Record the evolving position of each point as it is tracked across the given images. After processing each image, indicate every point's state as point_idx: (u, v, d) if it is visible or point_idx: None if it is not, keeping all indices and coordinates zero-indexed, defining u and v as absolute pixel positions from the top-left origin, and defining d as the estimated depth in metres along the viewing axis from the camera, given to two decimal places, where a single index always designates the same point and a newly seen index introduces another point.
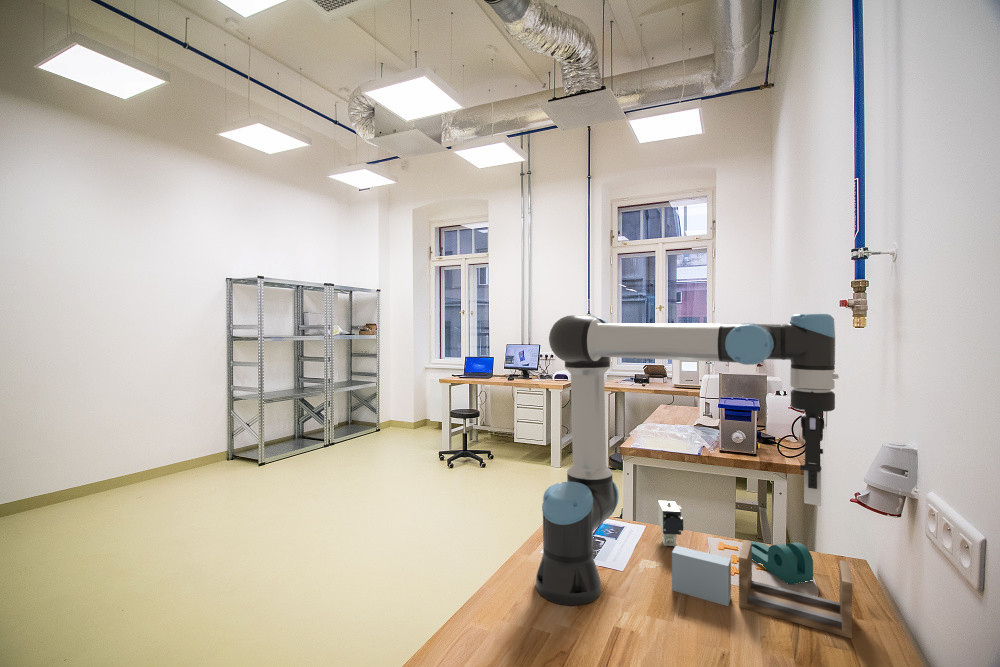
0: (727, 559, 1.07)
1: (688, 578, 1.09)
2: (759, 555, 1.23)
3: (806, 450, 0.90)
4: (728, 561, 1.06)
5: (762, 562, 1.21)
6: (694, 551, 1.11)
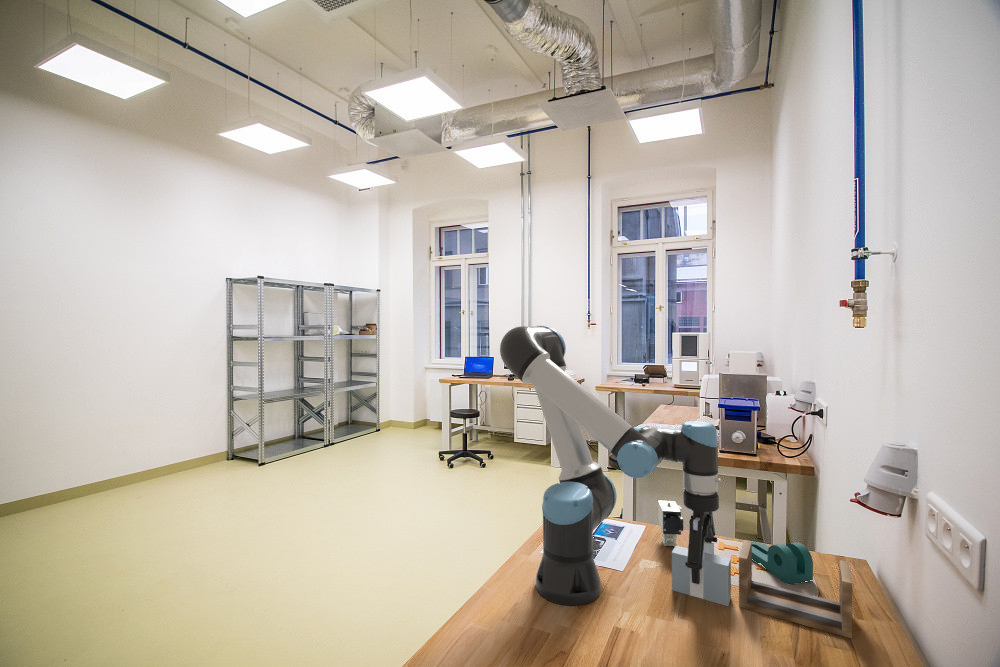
0: (727, 559, 1.07)
1: (688, 578, 1.09)
2: (759, 555, 1.23)
3: (689, 550, 1.02)
4: (728, 561, 1.06)
5: (762, 562, 1.21)
6: None
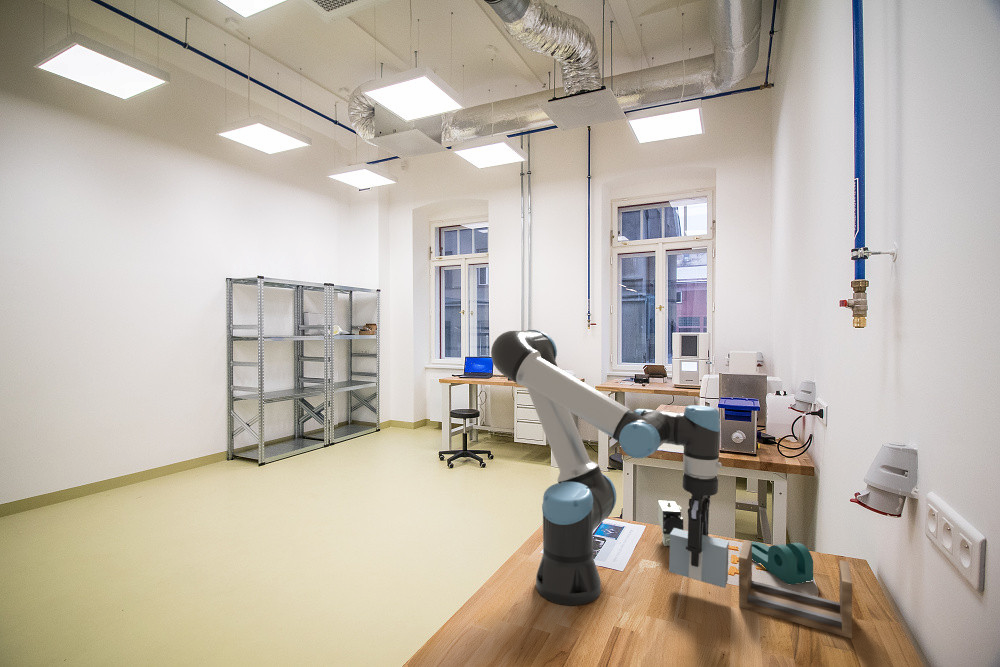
0: (725, 541, 1.07)
1: (686, 559, 1.09)
2: (759, 555, 1.23)
3: (688, 536, 1.05)
4: (726, 543, 1.06)
5: (762, 562, 1.21)
6: None
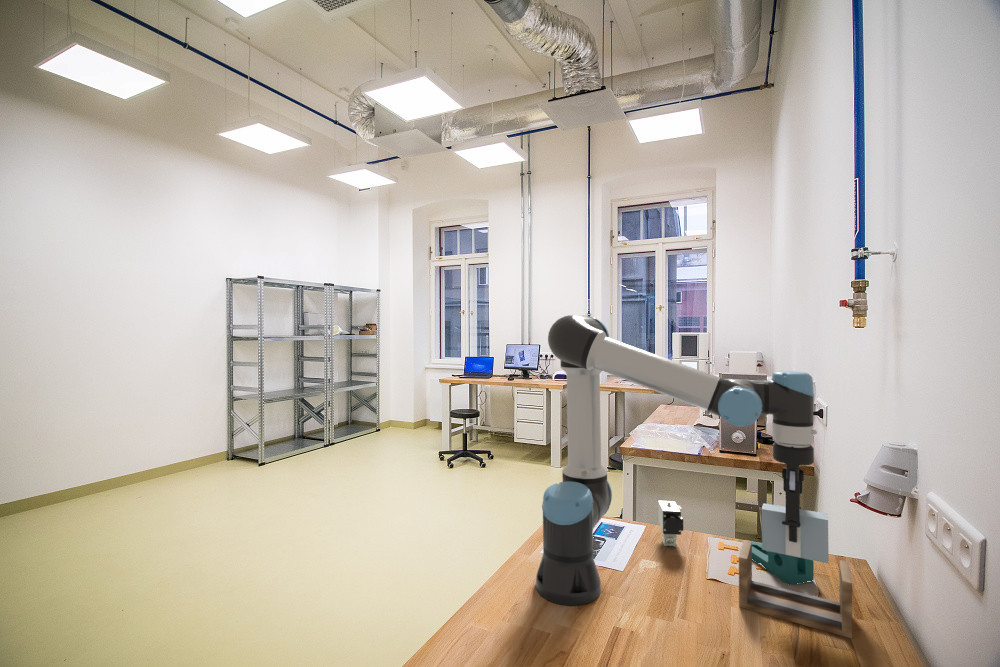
0: (824, 514, 1.00)
1: (781, 535, 1.02)
2: (759, 555, 1.23)
3: (786, 509, 0.98)
4: (826, 516, 0.99)
5: (762, 562, 1.21)
6: (785, 507, 1.04)
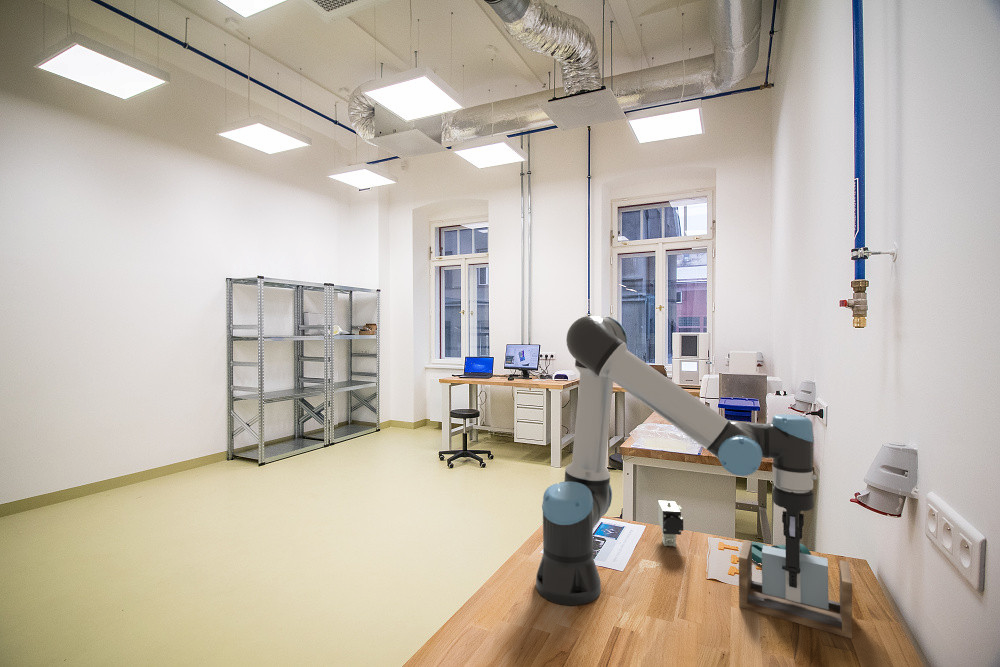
0: (824, 559, 1.01)
1: (782, 579, 1.02)
2: (759, 555, 1.23)
3: (786, 555, 0.98)
4: (826, 561, 1.00)
5: None
6: (785, 551, 1.04)
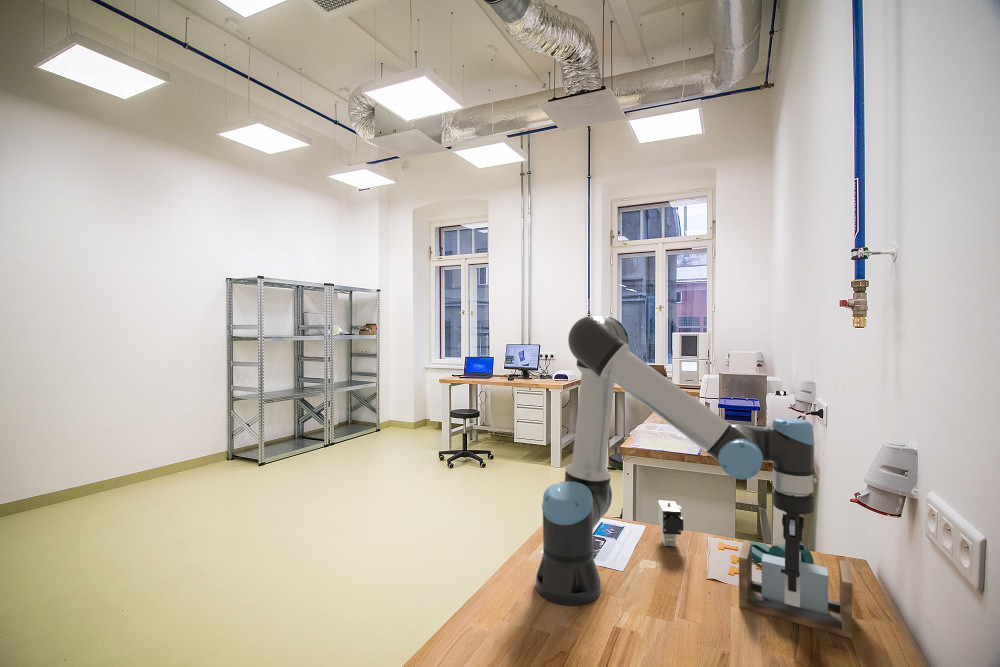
0: (824, 568, 1.01)
1: (781, 588, 1.02)
2: (760, 556, 1.23)
3: (786, 556, 0.96)
4: (826, 570, 1.00)
5: None
6: None
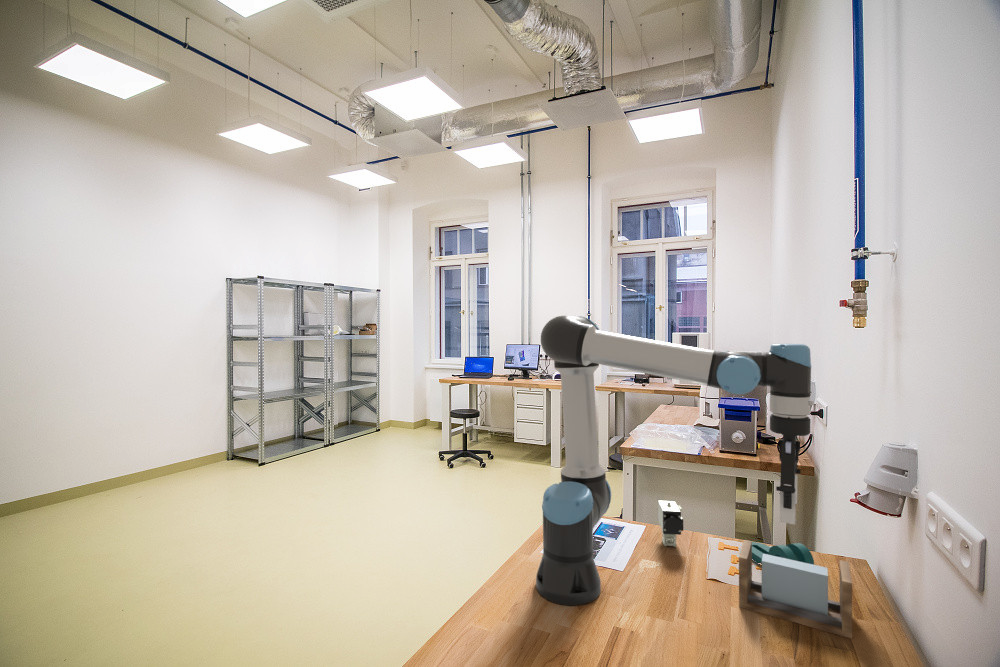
0: (824, 568, 1.01)
1: (781, 588, 1.02)
2: (760, 556, 1.23)
3: (782, 473, 0.96)
4: (826, 570, 1.00)
5: None
6: (785, 559, 1.04)
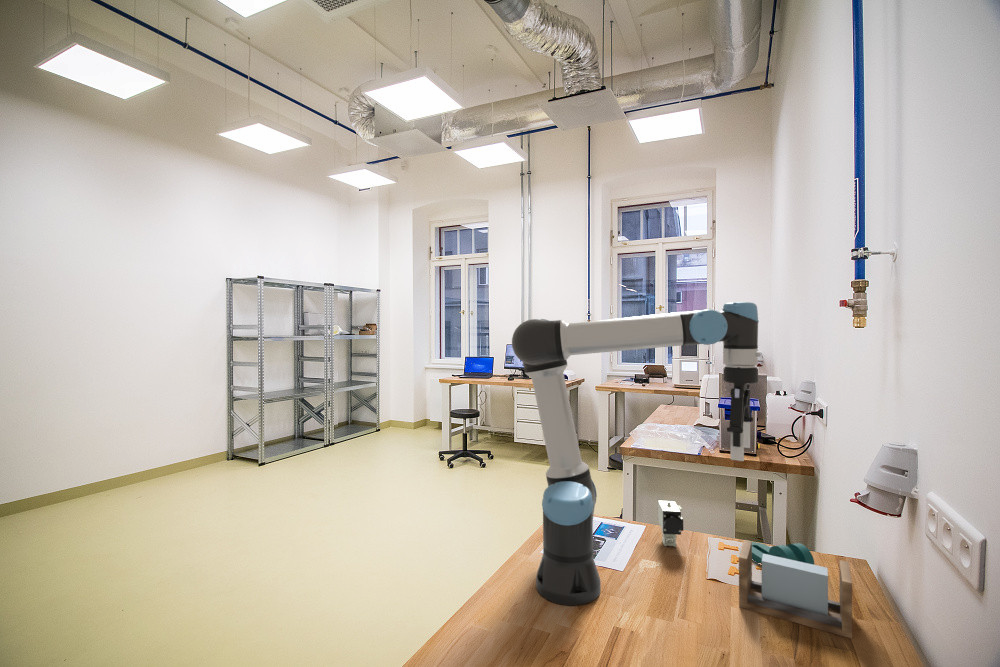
0: (824, 568, 1.01)
1: (781, 588, 1.02)
2: (760, 556, 1.23)
3: (731, 415, 1.08)
4: (826, 570, 1.00)
5: None
6: (785, 559, 1.04)
